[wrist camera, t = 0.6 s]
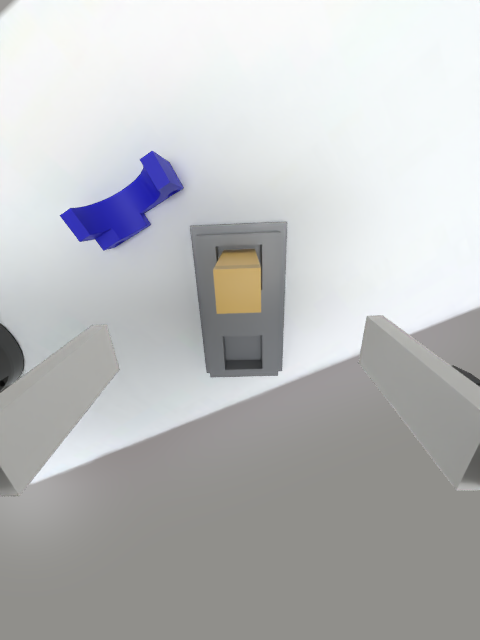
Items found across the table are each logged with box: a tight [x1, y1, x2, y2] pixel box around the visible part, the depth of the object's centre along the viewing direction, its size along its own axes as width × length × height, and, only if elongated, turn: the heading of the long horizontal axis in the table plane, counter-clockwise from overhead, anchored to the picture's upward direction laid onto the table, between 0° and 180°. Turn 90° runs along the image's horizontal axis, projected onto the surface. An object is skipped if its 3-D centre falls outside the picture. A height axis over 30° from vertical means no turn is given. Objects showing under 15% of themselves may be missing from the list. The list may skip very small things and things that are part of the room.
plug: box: [213, 249, 261, 314], centre depth 27 cm, size 4×4×12 cm
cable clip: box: [60, 151, 183, 251], centre depth 28 cm, size 12×4×6 cm, turn 118°
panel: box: [190, 222, 287, 377], centre depth 34 cm, size 12×22×4 cm, turn 2°
